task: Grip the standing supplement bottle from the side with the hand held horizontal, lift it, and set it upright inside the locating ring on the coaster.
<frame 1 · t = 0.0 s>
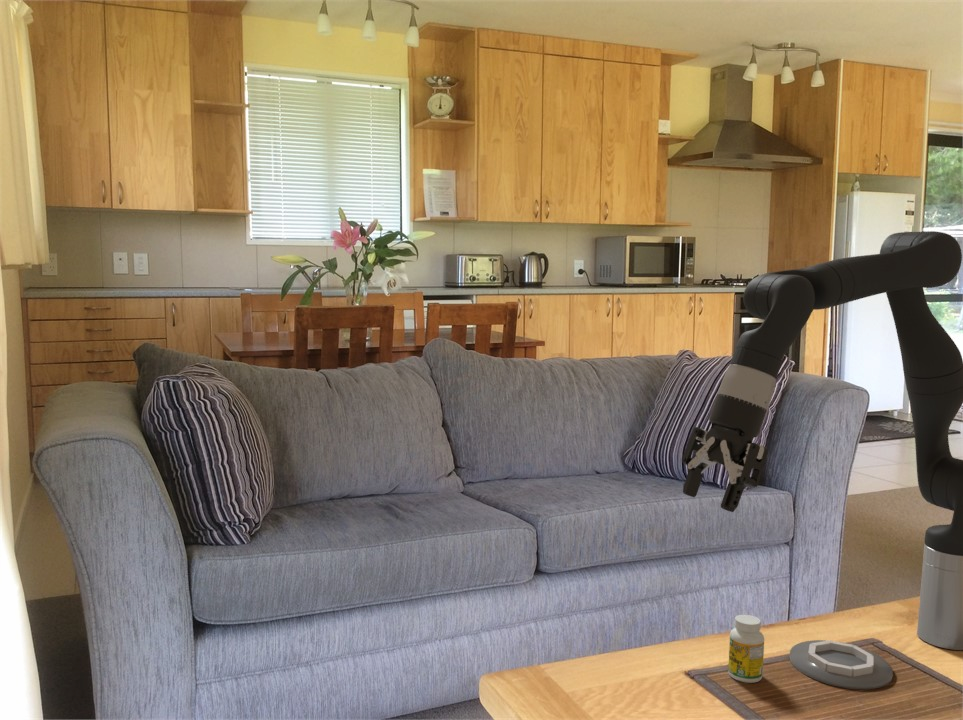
hand: (707, 502, 126), 31 cm above the table, tool tilted 20°, fingers open, 8 cm apart
ringed coaster: (839, 665, 142), on the table
supplement bottle: (744, 676, 138), on the table
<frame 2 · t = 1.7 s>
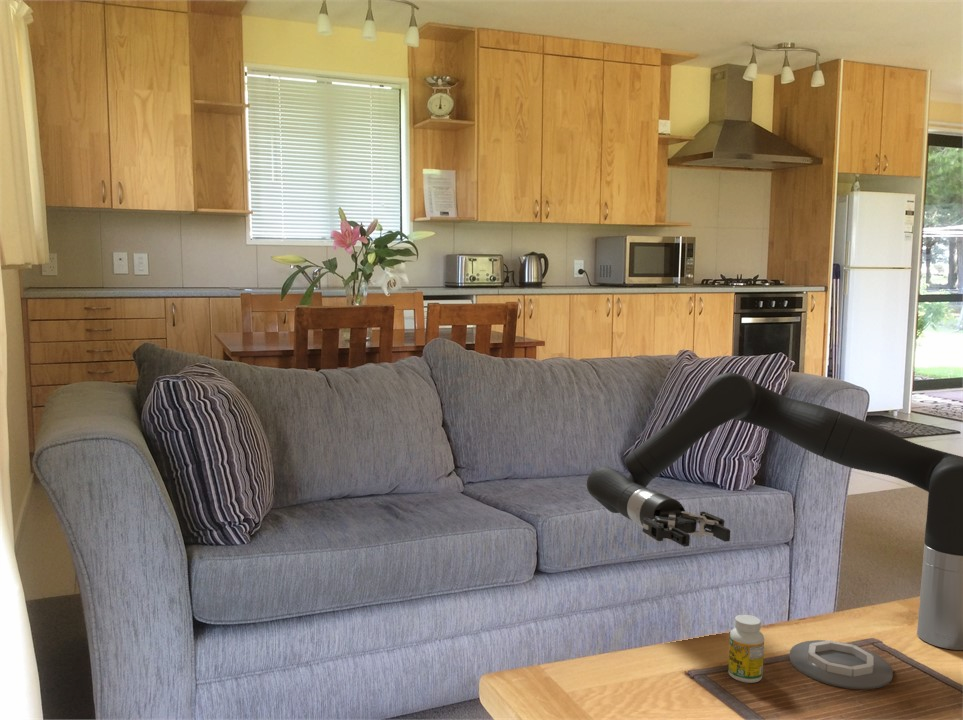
hand: (708, 538, 146), 20 cm above the table, tool horizontal, fingers open, 8 cm apart
nothing on the table moved.
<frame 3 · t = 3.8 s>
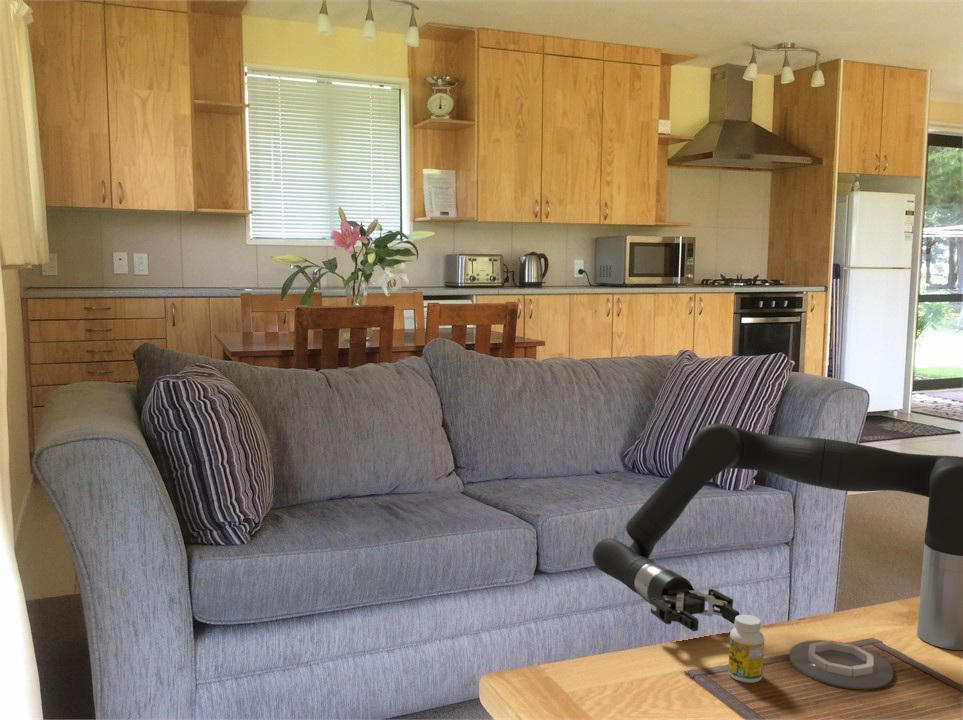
hand: (717, 622, 145), 6 cm above the table, tool horizontal, fingers open, 8 cm apart
nothing on the table moved.
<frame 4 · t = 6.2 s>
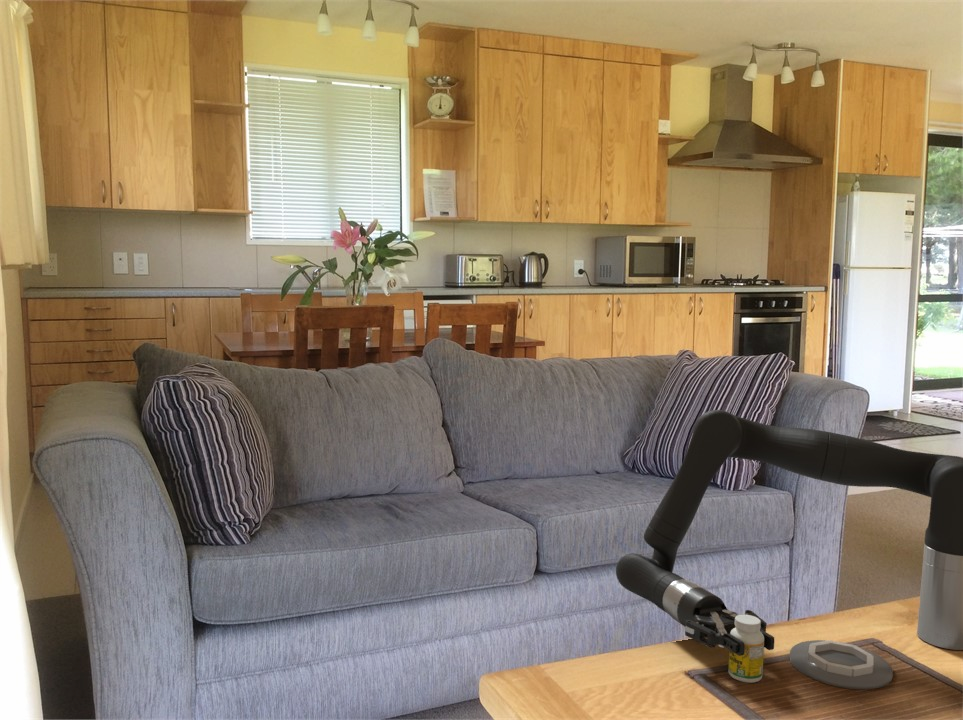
hand: (757, 646, 135), 6 cm above the table, tool horizontal, fingers closed on supplement bottle, 5 cm apart
supplement bottle: (744, 676, 138), on the table, touching gripper
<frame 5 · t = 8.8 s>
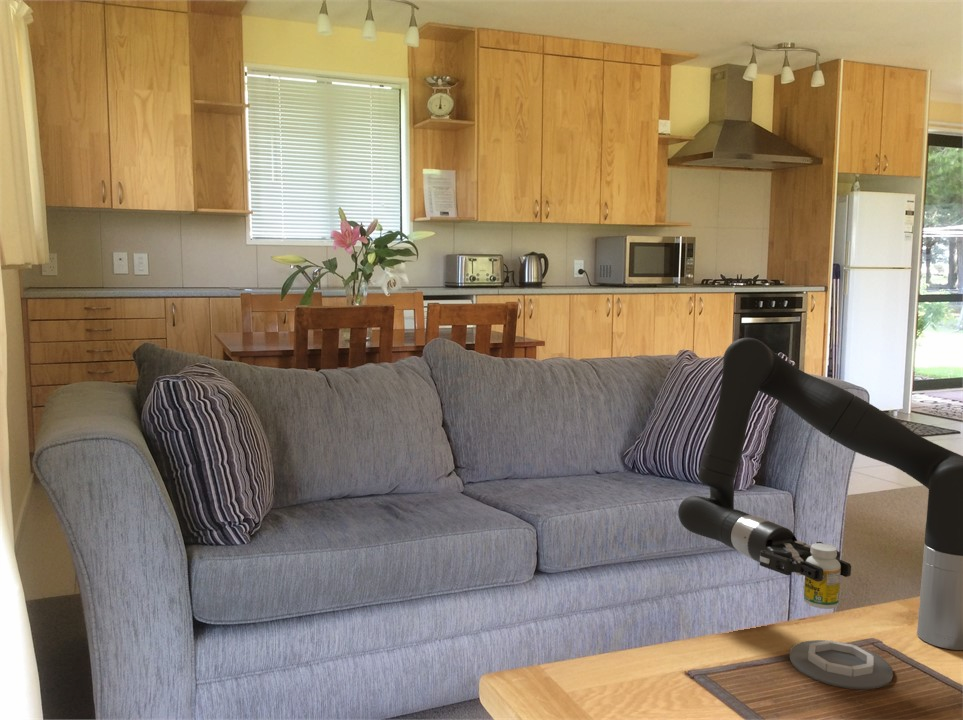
hand: (835, 573, 137), 18 cm above the table, tool horizontal, fingers closed on supplement bottle, 5 cm apart
supplement bottle: (820, 604, 140), point 11 cm above the table, touching gripper
when the fingers open (8 cm above the table, at t = 11.5 s): supplement bottle drops 1 cm, resting on ringed coaster.
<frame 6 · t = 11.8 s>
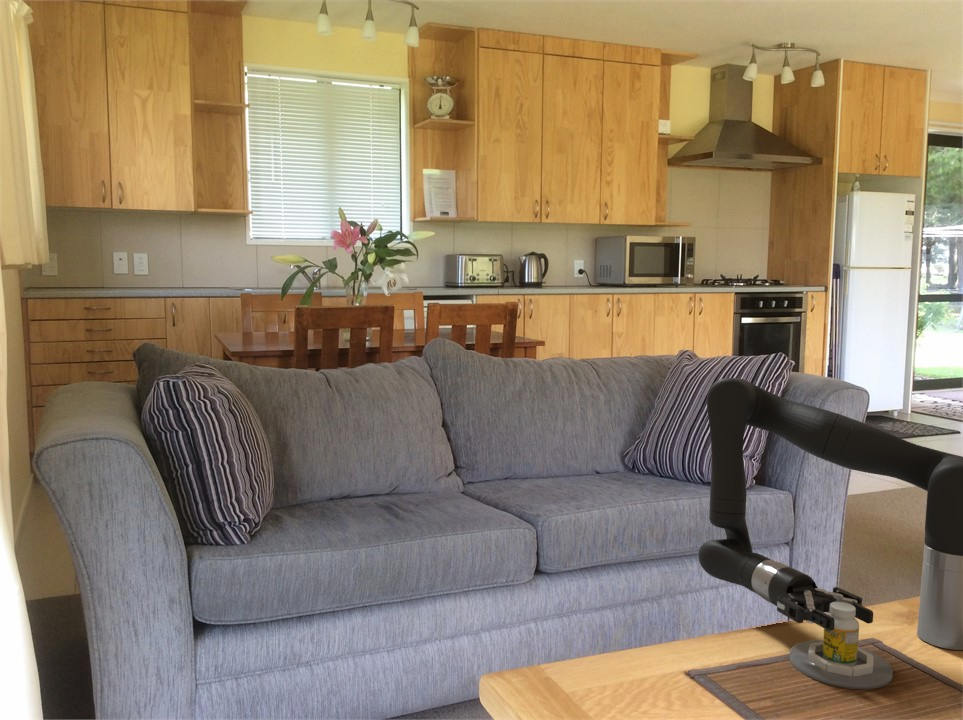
hand: (852, 621, 140), 9 cm above the table, tool horizontal, fingers open, 8 cm apart
supplement bottle: (839, 661, 143), point 1 cm above the table, touching ringed coaster
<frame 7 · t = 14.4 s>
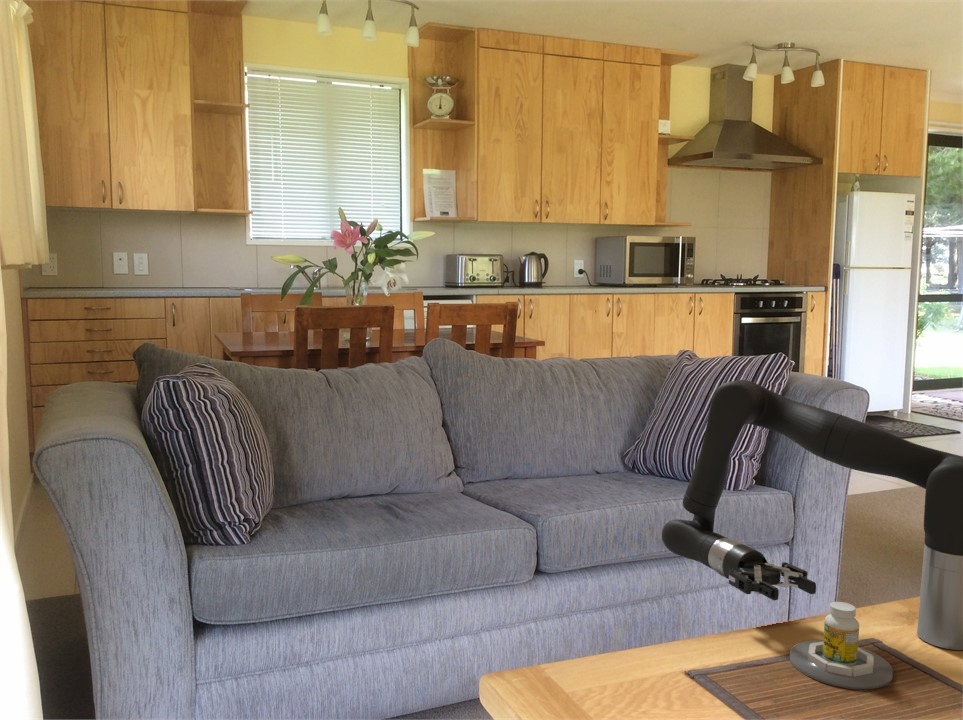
hand: (796, 592, 152), 9 cm above the table, tool horizontal, fingers open, 8 cm apart
nothing on the table moved.
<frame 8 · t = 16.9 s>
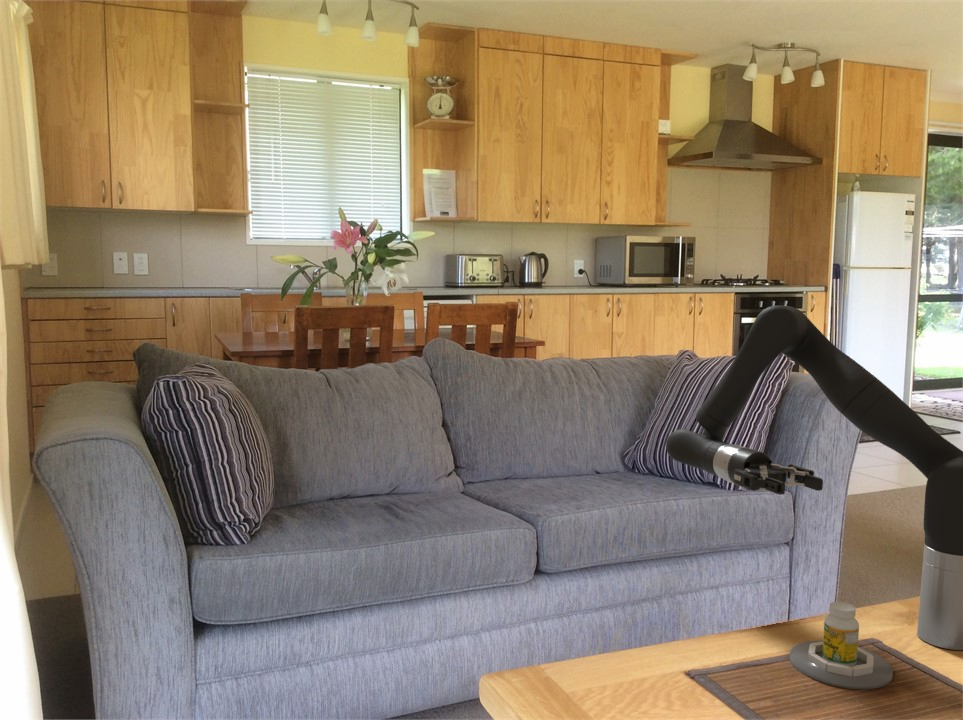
hand: (802, 487, 150), 28 cm above the table, tool horizontal, fingers open, 8 cm apart
nothing on the table moved.
at the end: supplement bottle 0.2 cm off-centre on the ringed coaster, point 0.6 cm above the ringed coaster's base; supplement bottle tilted 0°; the gripper is holding nothing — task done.
